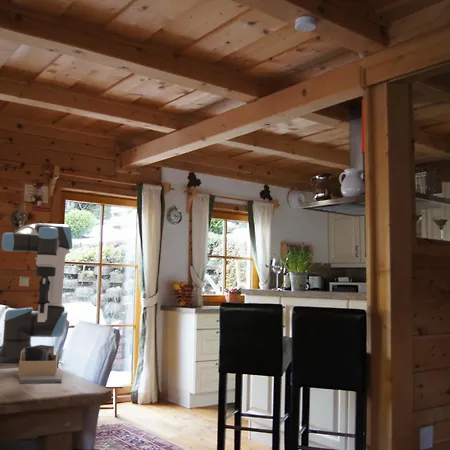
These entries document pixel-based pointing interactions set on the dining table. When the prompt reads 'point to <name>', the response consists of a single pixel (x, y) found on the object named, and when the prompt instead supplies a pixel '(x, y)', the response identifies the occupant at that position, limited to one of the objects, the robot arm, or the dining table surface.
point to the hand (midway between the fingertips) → (42, 320)
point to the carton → (37, 366)
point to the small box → (39, 353)
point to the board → (40, 378)
